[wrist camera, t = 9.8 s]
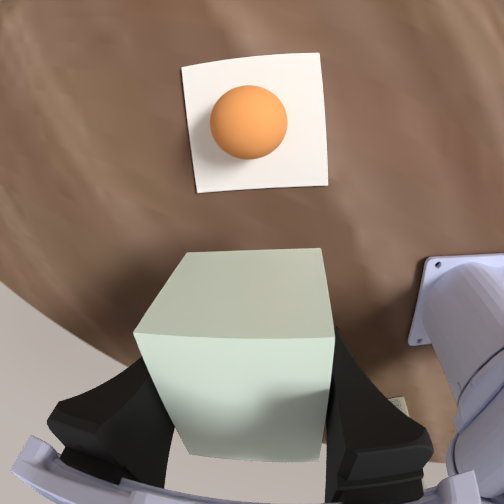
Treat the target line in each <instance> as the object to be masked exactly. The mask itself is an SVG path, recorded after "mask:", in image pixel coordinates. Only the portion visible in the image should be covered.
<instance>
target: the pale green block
mask: <svg viewBox="0 0 504 504" xmlns="http://www.w3.org/2000/svg"><path fill="white" fill-rule="evenodd" d="M133 334H134V337H135V339H136V342H137V344H138V347H139V349H140V352H141V354H142V357H143V359H144V362H145V364H146V366H147V369H148V371H149V373H150V375H151V378H152V380H153V382H154V384H155V387H156V389H157V391H158V393H159V395H160V397H161V400H162V402H163V404H164V406H165V408H166V410H167V412H168V414H169V416H170V418H171V420H172V422H173V424H174V426H175V428H176V430H177V432H178V434H179V435H180V437H181V439H182V441H183V443H184V444H185V447H186V448H187V450H188V452H189V454H192V455H199V456H206V457H214V458H224V459H234V460H245V461H262V462H318V461H319V455H320V450H321V444H322V438H323V432H324V426H325V419H326V412H327V405H328V398H329V390H330V382H331V373H332V364H333V355H334V345H335V332H334V325H333V318H332V312H331V305H330V299H329V292H328V286H327V280H326V274H325V269H324V263H323V257H322V252H321V248H308V249H277V250H246V251H216V252H187V253H186V255H185V256H184V257H183V259H182V260H181V262H180V263H179V265H178V266H177V267H176V269H175V270H174V272H173V273H172V275H171V276H170V278H169V279H168V281H167V282H166V284H165V285H164V286H163V288H162V289H161V291H160V292H159V294H158V295H157V297H156V298H155V300H154V301H153V303H152V304H151V306H150V307H149V309H148V310H147V312H146V313H145V315H144V316H143V318H142V319H141V321H140V323H139V324H138V326H137V327H136V329H135V330H134V332H133Z"/></svg>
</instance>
